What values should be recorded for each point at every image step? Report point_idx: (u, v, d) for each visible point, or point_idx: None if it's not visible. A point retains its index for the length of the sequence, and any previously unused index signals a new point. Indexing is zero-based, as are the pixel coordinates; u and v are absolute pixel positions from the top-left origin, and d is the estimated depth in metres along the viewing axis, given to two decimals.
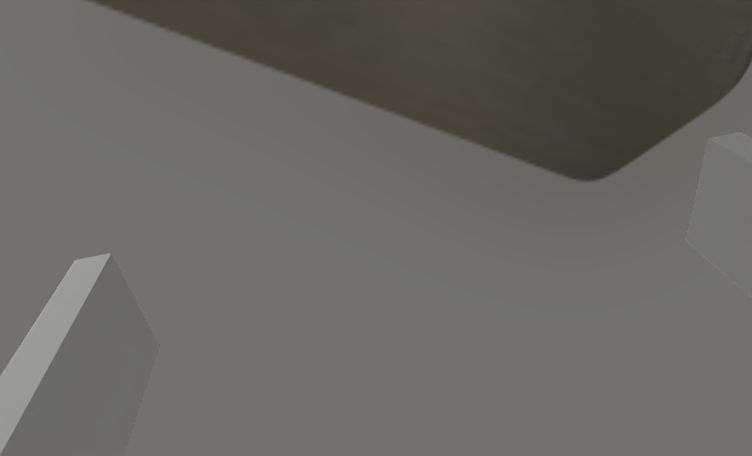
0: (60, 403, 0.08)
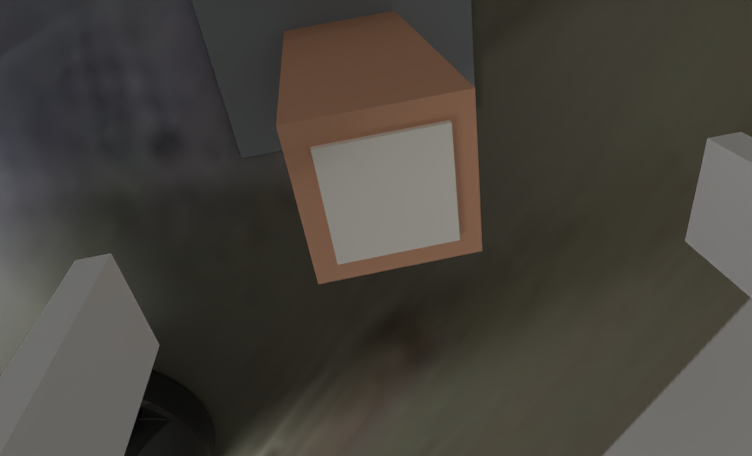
0: (60, 403, 0.08)
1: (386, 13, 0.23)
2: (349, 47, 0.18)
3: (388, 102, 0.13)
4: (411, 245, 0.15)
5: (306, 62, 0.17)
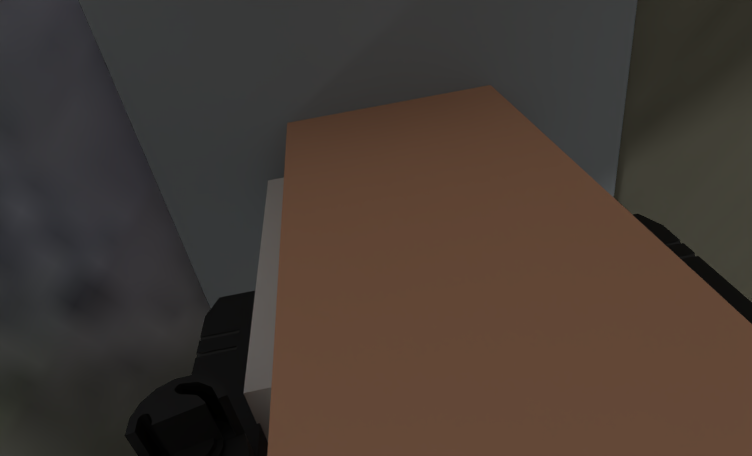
0: None
1: (477, 92, 0.12)
2: (437, 215, 0.08)
3: None
4: None
5: (340, 274, 0.07)
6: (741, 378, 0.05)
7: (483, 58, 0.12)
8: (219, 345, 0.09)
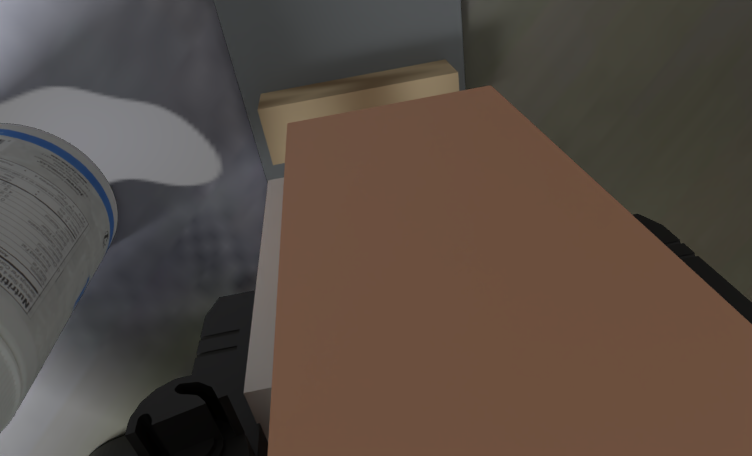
0: None
1: (477, 92, 0.12)
2: (437, 216, 0.08)
3: None
4: None
5: (340, 275, 0.07)
6: (742, 379, 0.05)
7: None
8: (219, 345, 0.09)
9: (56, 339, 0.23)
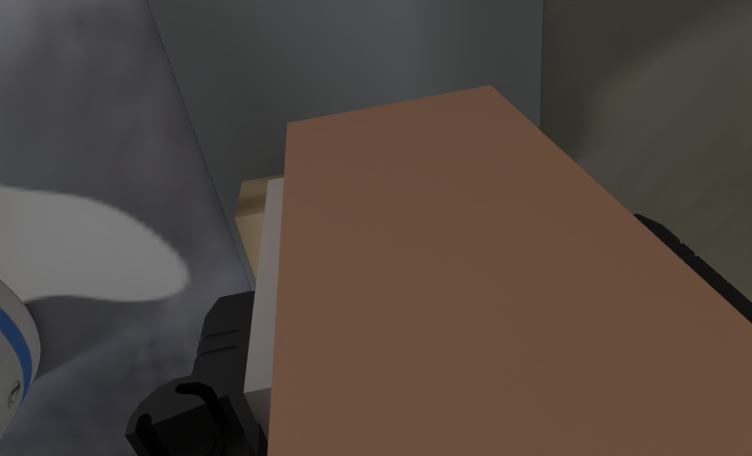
0: None
1: (477, 92, 0.12)
2: (437, 215, 0.08)
3: None
4: None
5: (341, 274, 0.07)
6: (742, 379, 0.05)
7: None
8: (219, 345, 0.09)
9: None
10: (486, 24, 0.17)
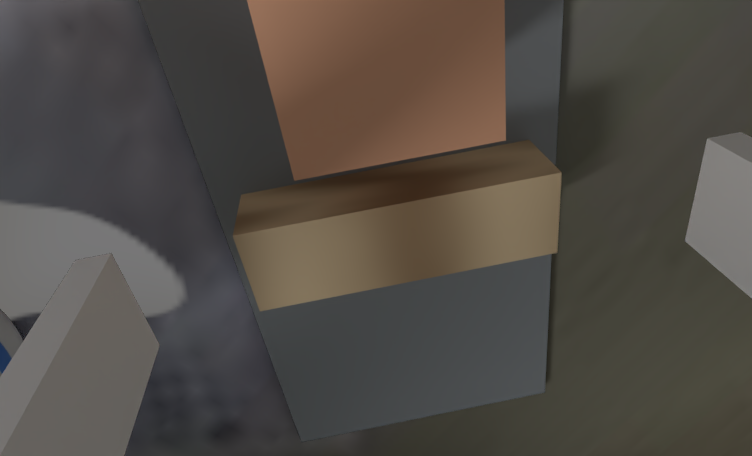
0: (61, 403, 0.08)
1: None
2: None
3: None
4: None
5: None
6: None
7: (464, 313, 0.21)
8: None
9: None
10: None
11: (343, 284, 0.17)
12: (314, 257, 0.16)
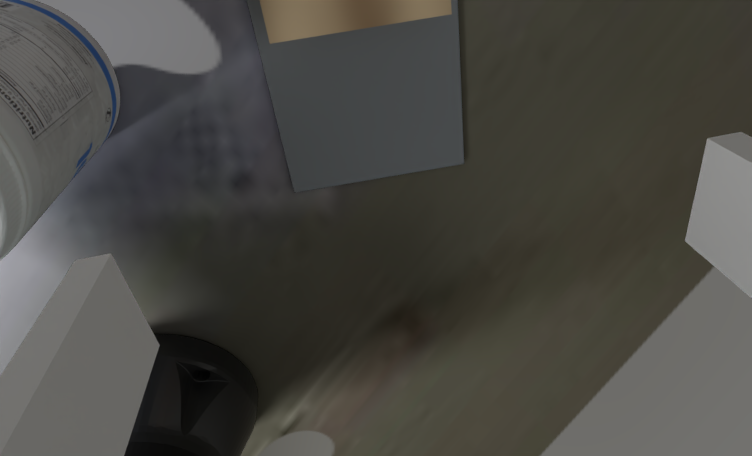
0: (61, 403, 0.08)
1: None
2: None
3: None
4: None
5: None
6: None
7: (403, 86, 0.32)
8: None
9: (60, 186, 0.24)
10: None
11: (320, 27, 0.27)
12: (303, 4, 0.27)
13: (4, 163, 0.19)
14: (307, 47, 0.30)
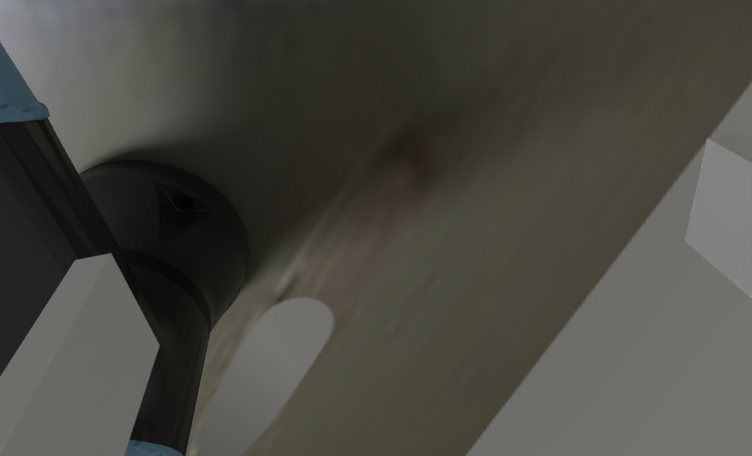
0: (60, 403, 0.08)
1: None
2: None
3: None
4: None
5: None
6: None
7: None
8: None
9: None
10: None
11: None
12: None
13: None
14: None
